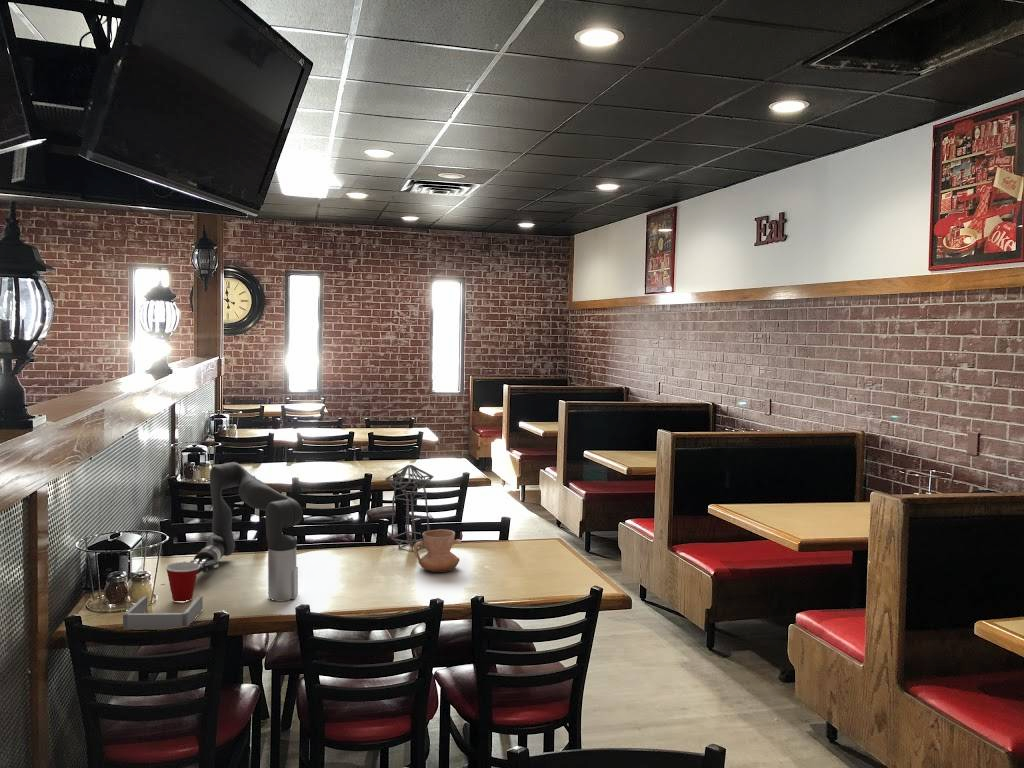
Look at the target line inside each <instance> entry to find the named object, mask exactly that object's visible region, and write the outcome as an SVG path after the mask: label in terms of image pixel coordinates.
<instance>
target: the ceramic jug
mask: <svg viewBox="0 0 1024 768" xmlns="http://www.w3.org/2000/svg"><path fill="white" fill-rule="evenodd" d="M422 533H423V535H422V537H423V538H422V539H424V540H421V541H418V542H416V544H415V543H414V544H415V545H413V546H414V547H413V550H414V551H413V554H414V555H415V557H416V559H417V561H418V564H419V565H420V567H421V568H423V570H425V571H428V572H432V573H445V572H449V571H452V570H454V569H455V568H456V567H457V566H458V564H459V562H460V558H459V557H457V555H455V554H454V553H452V551H451V550H452V547H453V546H454V545H455V544H461V543H462V540H461V539H459V538H458V539H455V537H456V532H455V531H454V530H450V529H434V530H433V529H432V530H431V529H430V531H428V530H426V531H423V532H422ZM422 541H424V542H422ZM419 545H422V546H421V547H423V546H424V548H425V549H426V550H427V553H426V554H424V555H423V556H422V557H420V554H419V552H418V551H419V550H417V549H419V548H418V547H420V546H419Z"/></svg>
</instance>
